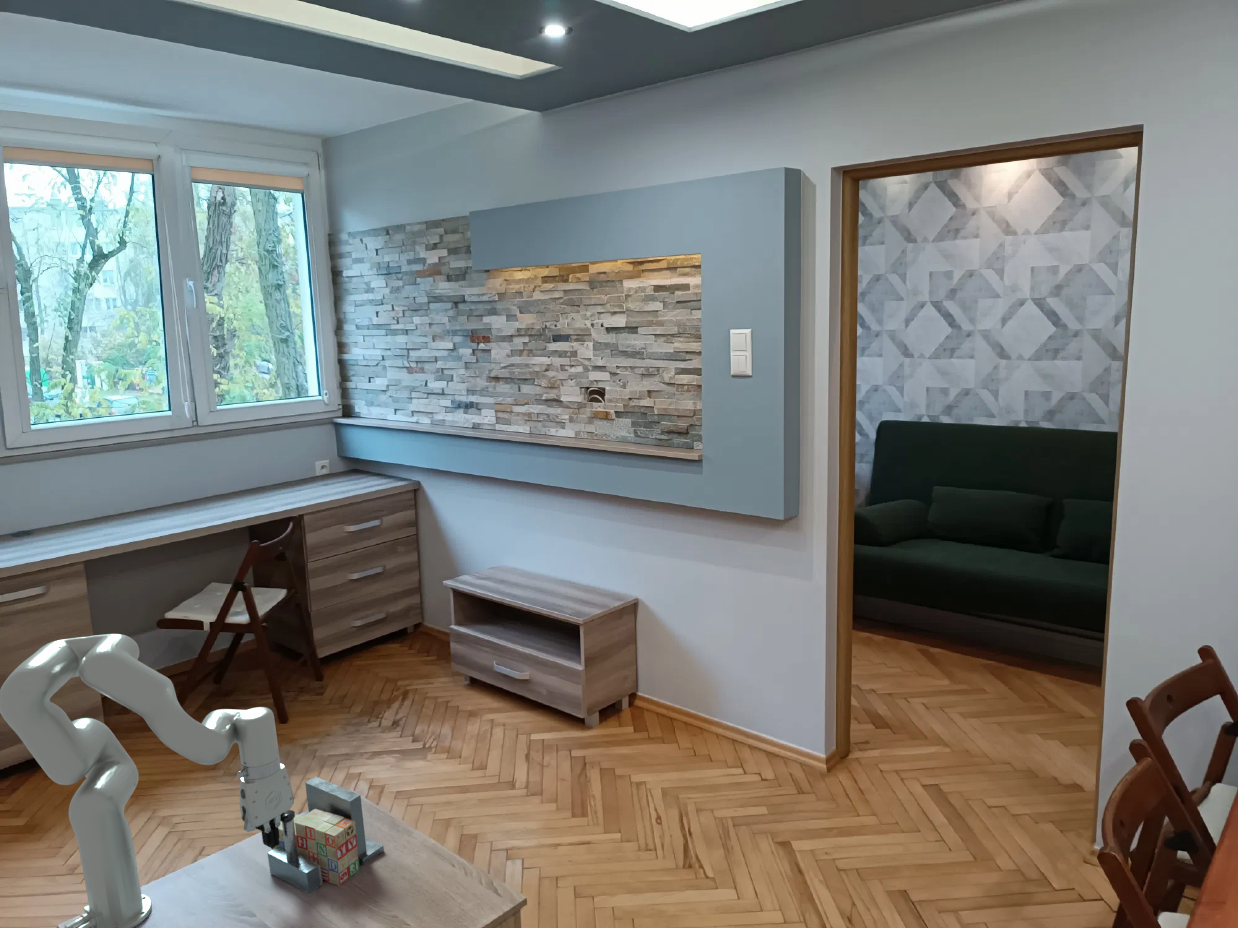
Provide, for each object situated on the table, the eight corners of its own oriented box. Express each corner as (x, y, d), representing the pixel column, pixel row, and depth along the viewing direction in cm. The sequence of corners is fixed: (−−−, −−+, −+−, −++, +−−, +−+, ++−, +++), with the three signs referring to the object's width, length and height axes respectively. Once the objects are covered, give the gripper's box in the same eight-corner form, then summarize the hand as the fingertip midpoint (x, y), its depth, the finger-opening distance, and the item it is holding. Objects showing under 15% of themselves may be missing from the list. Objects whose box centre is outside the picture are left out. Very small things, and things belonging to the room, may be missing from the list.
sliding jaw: (308, 893, 191) (300, 827, 188) (269, 872, 199) (261, 808, 196) (322, 884, 194) (314, 818, 191) (283, 864, 202) (275, 800, 199)
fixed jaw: (357, 868, 199) (350, 803, 196) (308, 844, 209) (300, 782, 206) (384, 851, 205) (377, 787, 202) (334, 828, 215) (327, 767, 212)
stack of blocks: (271, 861, 203) (265, 812, 201) (293, 846, 209) (287, 798, 207) (340, 886, 193) (334, 835, 191) (360, 869, 199) (355, 819, 197)
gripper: (239, 787, 179) (250, 869, 182) (302, 755, 191) (312, 832, 194) (218, 777, 183) (230, 857, 187) (281, 746, 195) (291, 822, 199)
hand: (271, 844), depth 190 cm, fingers closed
